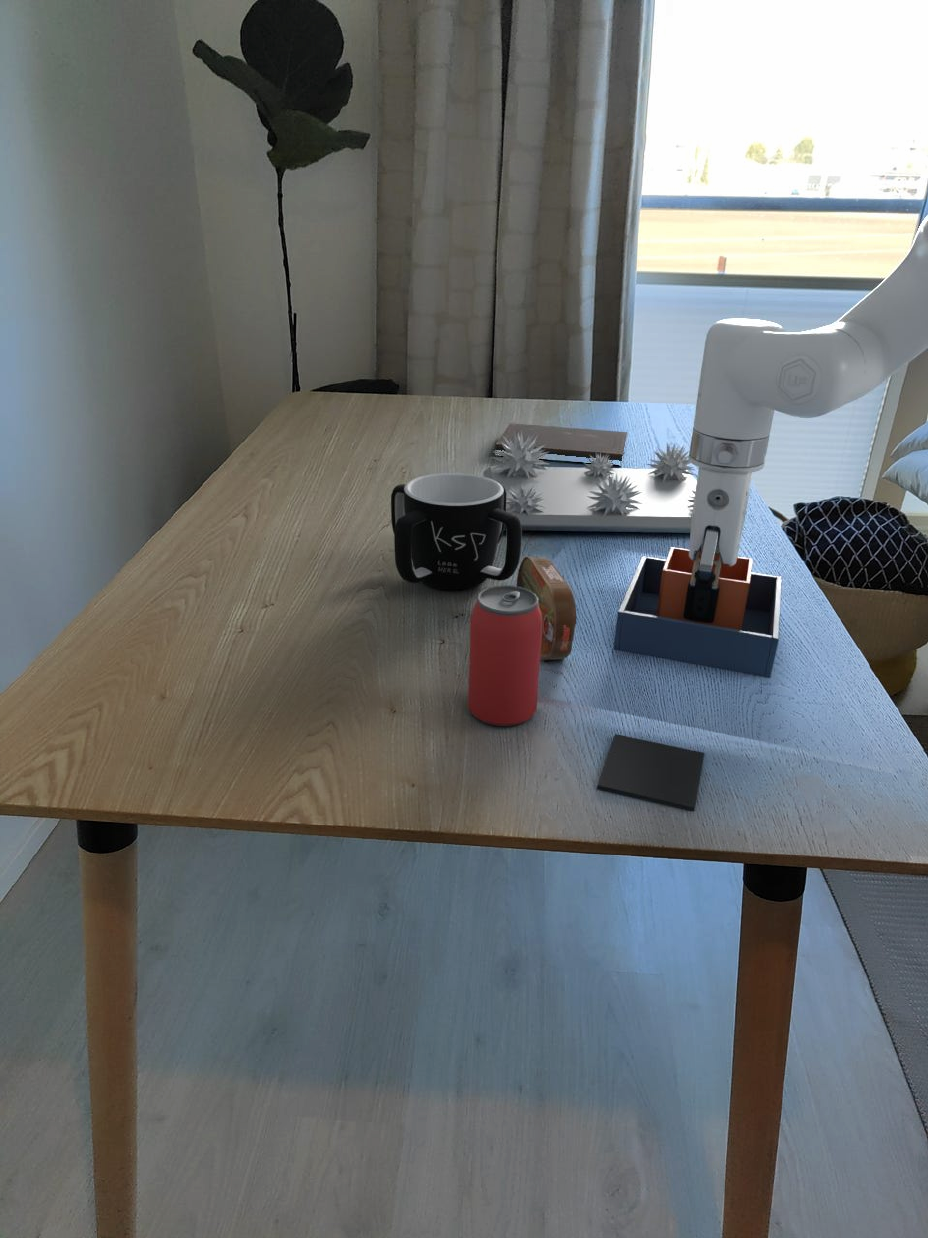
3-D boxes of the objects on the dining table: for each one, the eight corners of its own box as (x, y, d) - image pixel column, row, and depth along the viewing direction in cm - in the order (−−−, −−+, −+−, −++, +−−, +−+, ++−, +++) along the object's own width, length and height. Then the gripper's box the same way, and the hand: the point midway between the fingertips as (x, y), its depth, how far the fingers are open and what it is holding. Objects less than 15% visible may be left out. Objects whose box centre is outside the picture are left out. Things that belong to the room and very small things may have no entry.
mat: (703, 756, 76) (704, 752, 76) (694, 811, 69) (694, 807, 69) (614, 737, 78) (615, 733, 78) (597, 789, 72) (597, 785, 72)
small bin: (741, 622, 98) (753, 558, 94) (737, 650, 92) (750, 583, 89) (662, 609, 101) (671, 546, 97) (653, 635, 95) (662, 570, 91)
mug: (382, 603, 102) (380, 508, 96) (393, 551, 116) (392, 465, 111) (519, 606, 102) (524, 511, 96) (513, 554, 116) (518, 468, 111)
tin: (512, 610, 101) (516, 544, 97) (538, 609, 101) (543, 543, 98) (546, 676, 88) (552, 602, 84) (575, 674, 88) (583, 600, 84)
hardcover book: (509, 434, 170) (510, 423, 169) (626, 443, 166) (627, 432, 165) (494, 456, 156) (494, 444, 155) (621, 467, 152) (622, 454, 151)
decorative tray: (490, 537, 121) (492, 469, 117) (482, 480, 144) (484, 421, 140) (733, 540, 122) (745, 472, 118) (687, 482, 145) (696, 424, 141)
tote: (774, 615, 101) (782, 576, 99) (769, 682, 88) (778, 639, 85) (637, 593, 106) (642, 555, 104) (612, 653, 92) (617, 611, 90)
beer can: (547, 704, 83) (556, 593, 78) (516, 737, 78) (523, 621, 73) (488, 685, 86) (493, 576, 80) (455, 716, 81) (457, 602, 75)
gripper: (762, 477, 78) (731, 646, 87) (769, 431, 93) (741, 580, 101) (680, 467, 81) (656, 633, 89) (699, 424, 95) (677, 570, 103)
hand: (702, 603), depth 95 cm, fingers closed on small bin, 7 cm apart
